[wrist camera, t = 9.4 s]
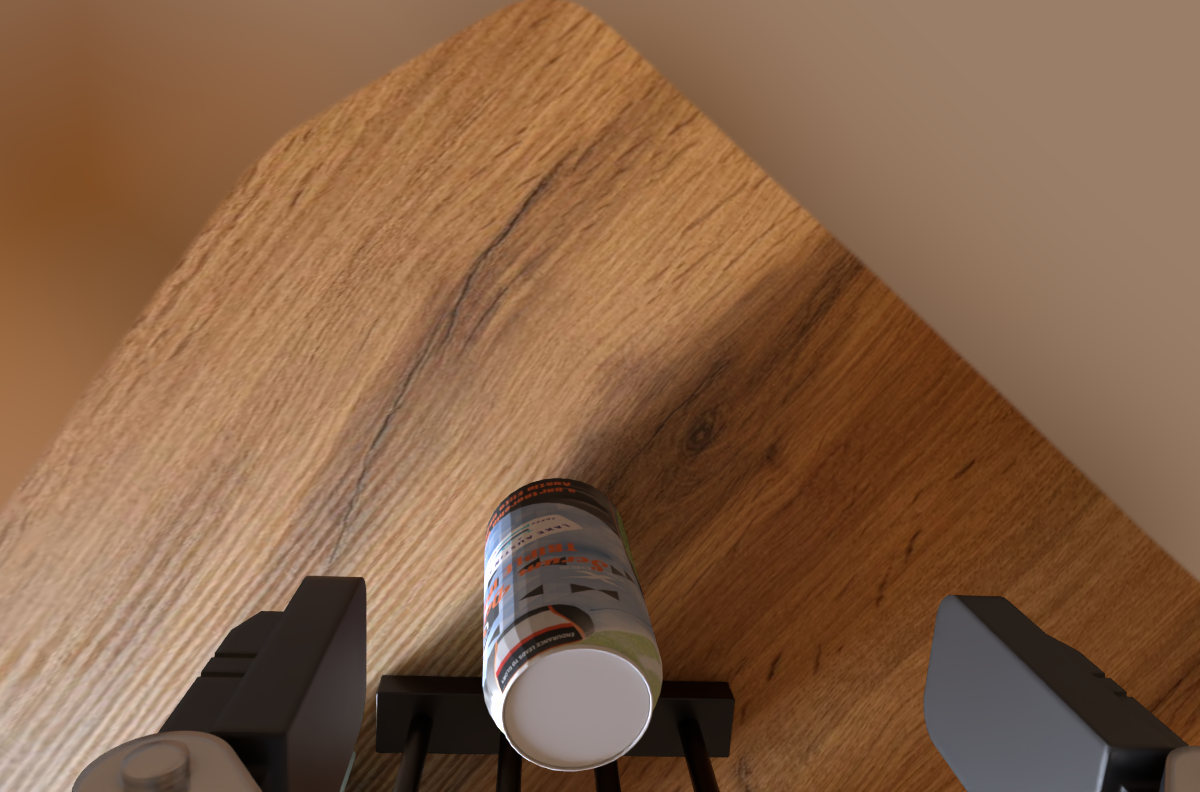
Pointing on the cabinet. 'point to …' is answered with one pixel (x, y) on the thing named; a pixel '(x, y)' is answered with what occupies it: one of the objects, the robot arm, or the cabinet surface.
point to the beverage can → (566, 628)
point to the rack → (464, 726)
